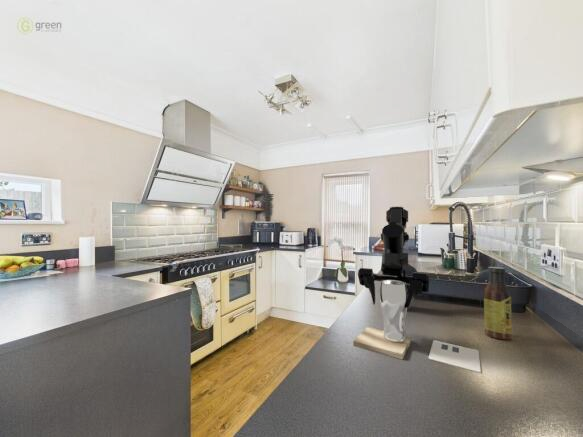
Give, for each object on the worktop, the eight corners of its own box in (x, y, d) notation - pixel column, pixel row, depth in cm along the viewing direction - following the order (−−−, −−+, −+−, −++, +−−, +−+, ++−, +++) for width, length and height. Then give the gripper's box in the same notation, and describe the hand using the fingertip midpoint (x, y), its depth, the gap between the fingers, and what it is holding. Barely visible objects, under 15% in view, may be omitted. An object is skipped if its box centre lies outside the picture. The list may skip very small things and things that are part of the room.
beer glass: (393, 330, 74) (392, 278, 74) (414, 340, 67) (413, 283, 68) (375, 335, 71) (374, 280, 71) (395, 345, 64) (394, 285, 65)
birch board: (367, 330, 77) (367, 326, 77) (411, 341, 70) (411, 336, 70) (353, 345, 67) (353, 340, 67) (402, 359, 60) (402, 354, 60)
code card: (433, 340, 70) (433, 340, 70) (478, 351, 65) (478, 350, 65) (428, 359, 61) (428, 358, 61) (480, 373, 55) (480, 372, 55)
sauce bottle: (512, 343, 70) (511, 270, 70) (484, 336, 74) (483, 267, 74) (510, 335, 75) (510, 267, 76) (484, 329, 79) (483, 265, 79)
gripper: (359, 241, 78) (351, 285, 67) (428, 243, 70) (431, 294, 59) (363, 263, 85) (356, 306, 74) (427, 268, 77) (429, 317, 66)
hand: (390, 306), depth 68 cm, fingers open, 8 cm apart
